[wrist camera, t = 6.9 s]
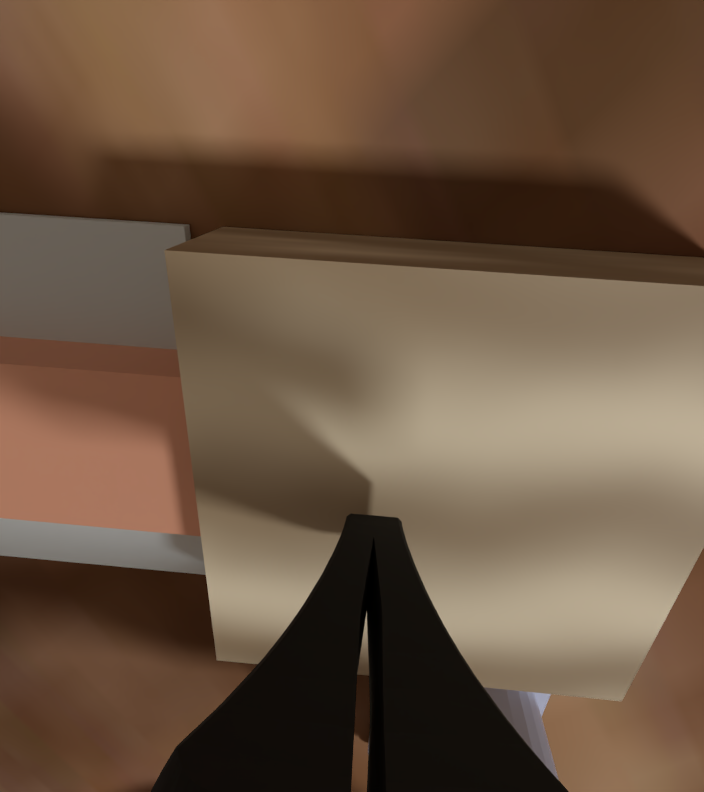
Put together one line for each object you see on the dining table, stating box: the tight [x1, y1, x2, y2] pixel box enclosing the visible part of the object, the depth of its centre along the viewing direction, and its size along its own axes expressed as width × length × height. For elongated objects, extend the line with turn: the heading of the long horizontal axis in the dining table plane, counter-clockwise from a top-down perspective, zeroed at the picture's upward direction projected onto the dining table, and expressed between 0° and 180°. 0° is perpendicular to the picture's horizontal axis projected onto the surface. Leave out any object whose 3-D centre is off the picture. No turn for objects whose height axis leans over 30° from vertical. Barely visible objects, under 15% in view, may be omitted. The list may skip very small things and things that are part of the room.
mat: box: [0, 212, 206, 575], centre depth 17 cm, size 14×11×1 cm
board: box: [164, 227, 704, 701], centre depth 15 cm, size 14×14×4 cm
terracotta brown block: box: [0, 336, 201, 536], centre depth 16 cm, size 6×9×2 cm, turn 87°
